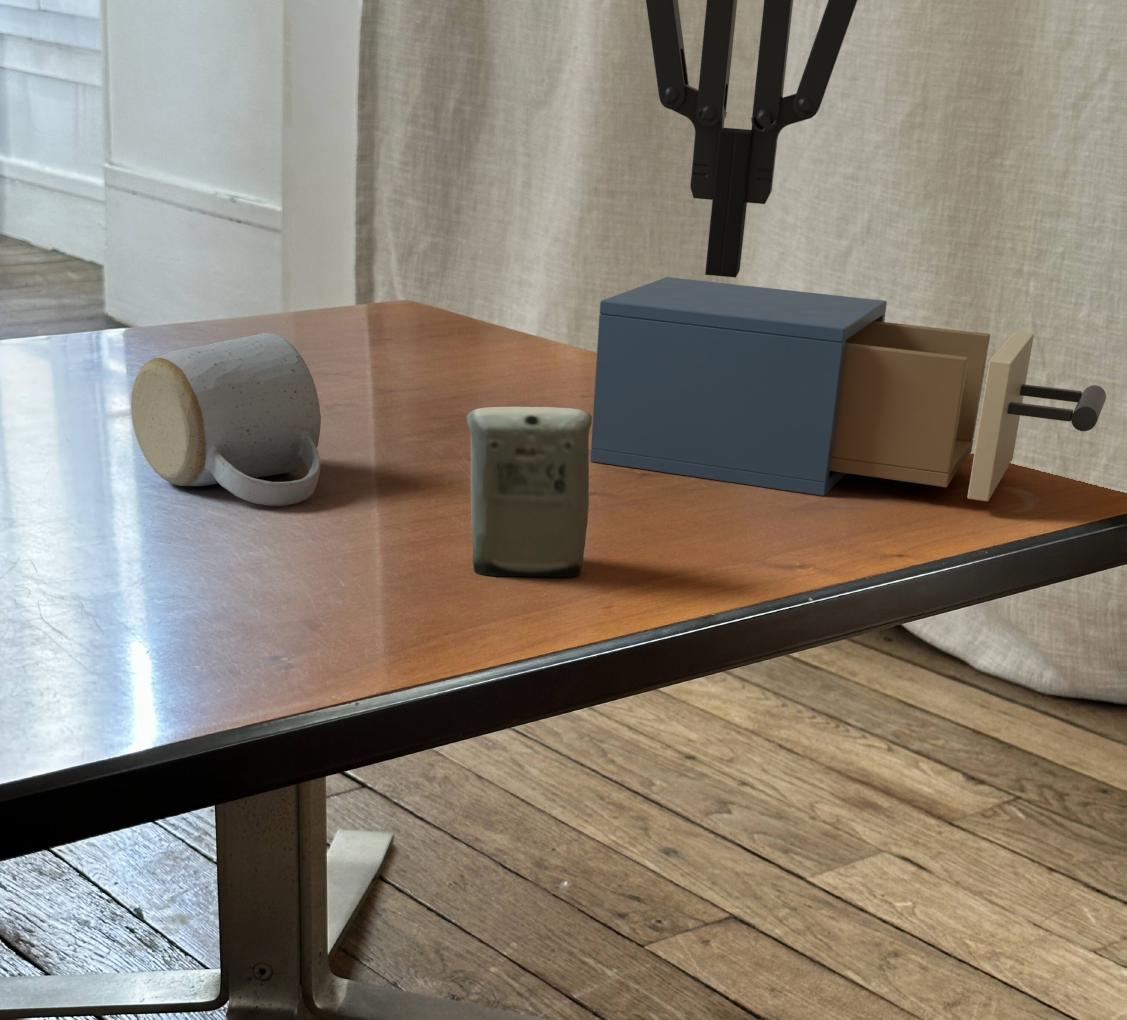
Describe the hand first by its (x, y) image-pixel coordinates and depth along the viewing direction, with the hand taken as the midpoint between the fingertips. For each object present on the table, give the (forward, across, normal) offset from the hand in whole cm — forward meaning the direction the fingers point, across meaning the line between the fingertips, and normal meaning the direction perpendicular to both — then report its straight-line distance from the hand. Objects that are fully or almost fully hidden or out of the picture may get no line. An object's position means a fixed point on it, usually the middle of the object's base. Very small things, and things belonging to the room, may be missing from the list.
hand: (722, 272), depth 78 cm
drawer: (+13, -13, -17) cm, 24 cm away
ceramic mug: (+14, +25, -2) cm, 29 cm away
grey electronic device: (+14, +8, +8) cm, 18 cm away
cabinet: (+14, -1, -19) cm, 24 cm away
